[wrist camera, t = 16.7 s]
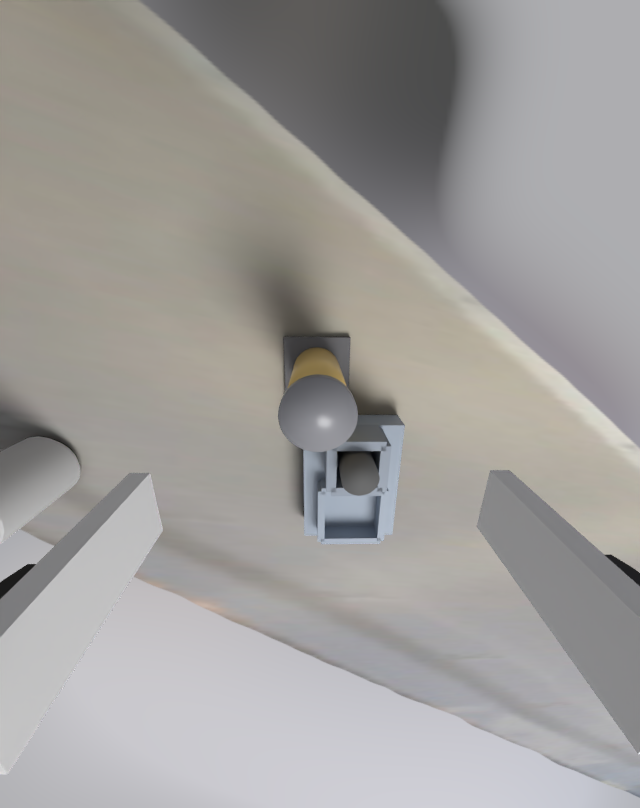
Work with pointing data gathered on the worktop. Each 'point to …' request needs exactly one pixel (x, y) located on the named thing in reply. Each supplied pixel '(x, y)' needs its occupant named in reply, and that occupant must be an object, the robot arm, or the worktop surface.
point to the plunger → (358, 472)
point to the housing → (343, 512)
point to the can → (33, 480)
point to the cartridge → (317, 403)
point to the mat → (332, 344)
